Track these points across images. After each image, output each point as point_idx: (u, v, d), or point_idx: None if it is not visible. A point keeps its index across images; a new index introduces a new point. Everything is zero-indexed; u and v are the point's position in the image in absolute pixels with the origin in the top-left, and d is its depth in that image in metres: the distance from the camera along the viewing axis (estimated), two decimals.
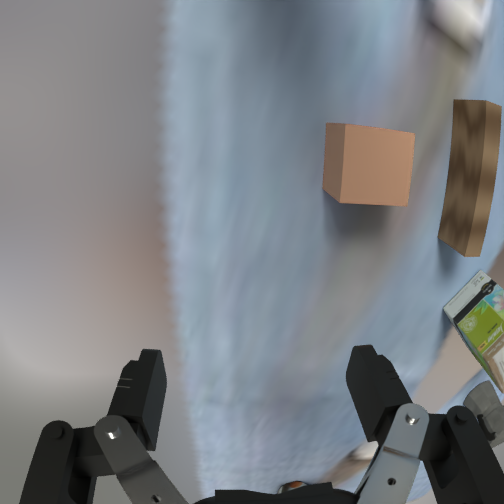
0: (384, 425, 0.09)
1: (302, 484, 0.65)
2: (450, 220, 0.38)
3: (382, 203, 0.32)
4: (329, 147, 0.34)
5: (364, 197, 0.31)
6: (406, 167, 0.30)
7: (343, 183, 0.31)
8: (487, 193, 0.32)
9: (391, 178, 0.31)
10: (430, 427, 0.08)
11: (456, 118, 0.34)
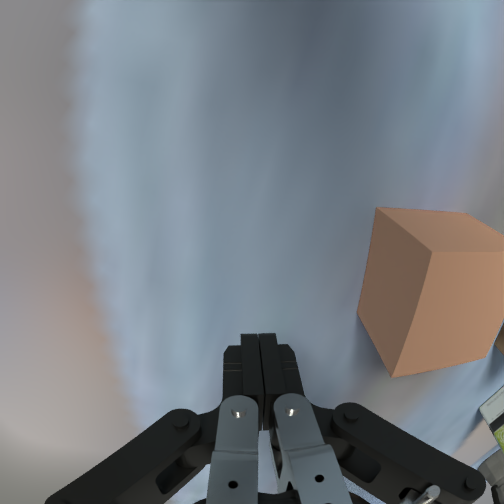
0: (270, 413, 0.10)
1: None
2: None
3: (454, 364, 0.17)
4: (380, 259, 0.19)
5: (431, 362, 0.16)
6: (502, 306, 0.15)
7: (404, 352, 0.16)
8: None
9: (478, 328, 0.16)
10: (316, 421, 0.09)
11: None
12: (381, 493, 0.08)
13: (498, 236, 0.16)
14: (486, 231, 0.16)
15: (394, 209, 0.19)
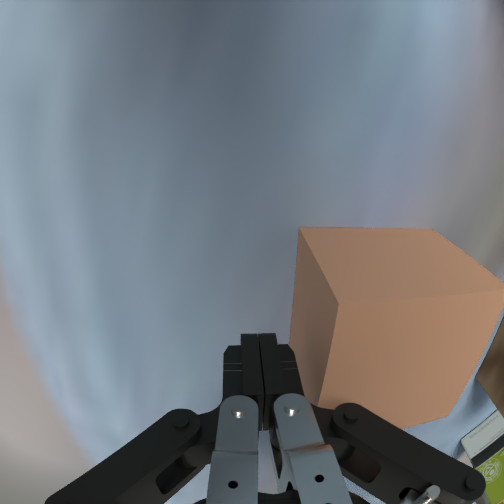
0: (270, 413, 0.10)
1: None
2: (502, 365, 0.19)
3: (400, 427, 0.13)
4: (301, 296, 0.15)
5: None
6: (469, 360, 0.11)
7: None
8: None
9: (432, 389, 0.12)
10: (316, 421, 0.09)
11: None
12: (381, 493, 0.08)
13: (469, 265, 0.12)
14: (452, 257, 0.13)
15: (324, 229, 0.16)
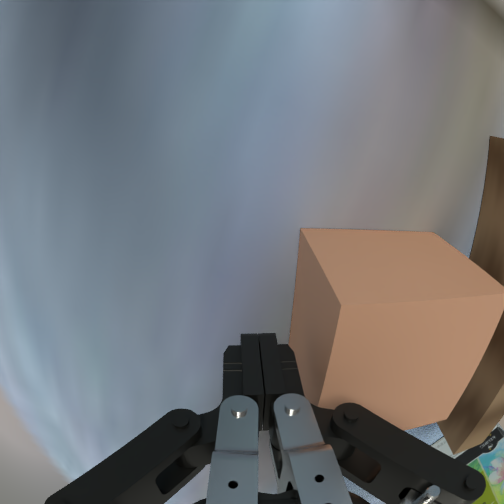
0: (270, 413, 0.10)
1: None
2: None
3: None
4: (302, 298, 0.15)
5: None
6: (469, 363, 0.11)
7: None
8: None
9: (432, 391, 0.12)
10: None
11: (493, 182, 0.14)
12: (381, 493, 0.08)
13: (470, 268, 0.12)
14: (454, 261, 0.13)
15: (326, 231, 0.16)
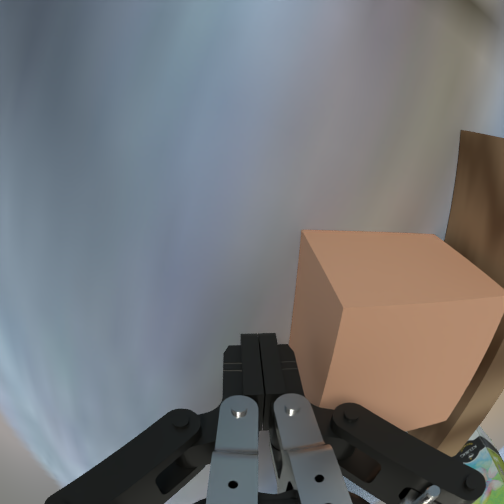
0: (270, 413, 0.10)
1: None
2: None
3: None
4: (303, 299, 0.15)
5: None
6: (469, 366, 0.11)
7: None
8: (502, 374, 0.12)
9: (432, 393, 0.12)
10: (316, 421, 0.09)
11: (464, 179, 0.14)
12: (381, 493, 0.08)
13: (471, 271, 0.12)
14: (454, 263, 0.13)
15: (327, 233, 0.16)
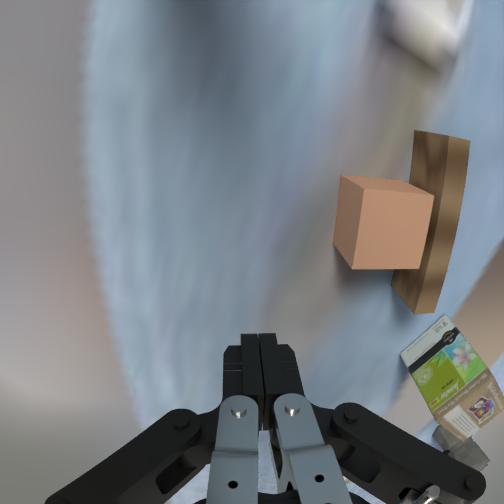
0: (270, 413, 0.10)
1: None
2: (403, 270, 0.36)
3: (394, 267, 0.31)
4: (343, 204, 0.33)
5: (376, 262, 0.30)
6: (422, 230, 0.29)
7: (357, 250, 0.30)
8: (445, 245, 0.30)
9: (406, 242, 0.30)
10: (316, 421, 0.09)
11: (416, 153, 0.32)
12: (381, 493, 0.08)
13: (417, 189, 0.30)
14: (409, 187, 0.31)
15: (351, 176, 0.34)
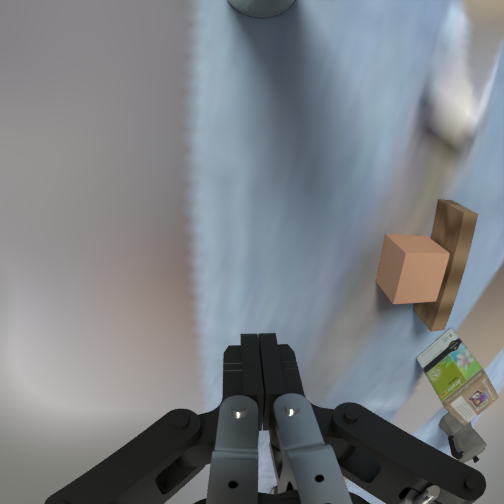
0: (270, 413, 0.10)
1: None
2: None
3: (420, 301, 0.43)
4: (386, 256, 0.45)
5: (409, 299, 0.43)
6: (440, 276, 0.41)
7: (397, 292, 0.42)
8: (454, 285, 0.42)
9: (429, 285, 0.42)
10: None
11: (438, 217, 0.44)
12: (381, 493, 0.08)
13: (438, 247, 0.42)
14: (432, 244, 0.43)
15: (392, 235, 0.46)
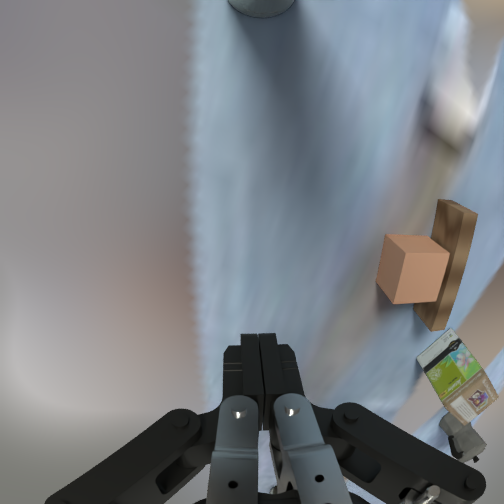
0: (270, 413, 0.10)
1: None
2: None
3: (420, 301, 0.43)
4: (386, 256, 0.45)
5: (409, 299, 0.43)
6: (440, 276, 0.41)
7: (397, 292, 0.42)
8: (454, 285, 0.42)
9: (429, 285, 0.42)
10: (316, 421, 0.09)
11: (438, 217, 0.44)
12: (381, 493, 0.08)
13: (438, 246, 0.42)
14: (432, 244, 0.43)
15: (392, 235, 0.46)
